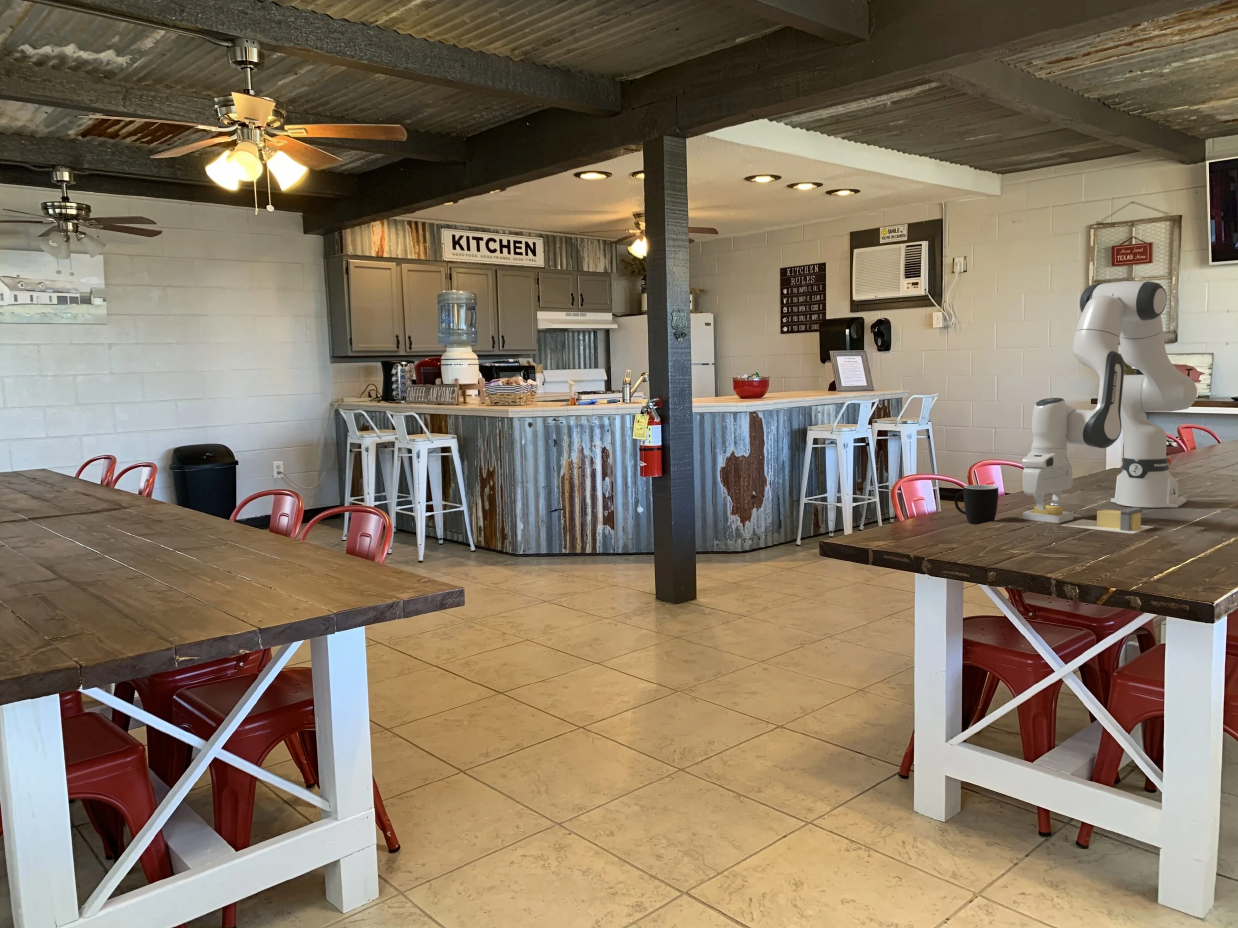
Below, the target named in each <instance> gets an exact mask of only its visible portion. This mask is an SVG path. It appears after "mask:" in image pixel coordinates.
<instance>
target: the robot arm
mask: <svg viewBox="0 0 1238 928" xmlns="http://www.w3.org/2000/svg"><path fill="white" fill-rule="evenodd" d="M1167 298H1168V296H1167V291H1166V289H1165V288H1164V286H1163V285H1162V284H1161V283H1159V282H1154V281H1149V280H1147V281H1146V280H1145V282H1144V281H1137V280H1123V281H1115V282H1114V281H1113V282H1106V283H1102V282H1099V283H1094V284H1090V285H1088V286H1087V287H1086V288H1085V289H1084V290H1083V291H1082V294H1081V295H1080V298H1079V309H1080V312H1081V314H1080V317H1079V320H1078V323H1077V325H1076V329H1075V333H1074V336H1073V341H1072V347H1071V348H1072V350H1071V351H1072V354H1073V356H1074V358H1075V359H1076V360H1077V361H1078V362H1079V363H1080V364H1081V365H1083V366H1084V367H1088V368H1089V369H1091V370H1094V371H1095V372H1096V373H1097V374H1098V377H1099V384H1098V394H1097V395H1098V396H1097V405H1096V406H1095V408H1094V409H1079V408H1076V407H1073V406H1071V405H1069V404H1068V403H1066V400H1065V399H1064V398H1061V397H1050V398H1043V399H1040V400H1038V401H1037V402H1035V404H1034V405H1033V408H1032V415H1031V434H1032V443H1031V447H1030V448H1031V450H1030V452H1029V453H1028V454H1027V455H1026V456H1025V457H1023V458H1022V460H1021V466H1022V467H1024V468H1023V469H1022V470H1023V471H1022V491H1023V493H1024V495H1025V496H1031V497H1033V496H1034V501H1035V503H1036V506H1037V510H1045V509H1046V505H1047V503H1045V500H1044V499H1045V494H1052V497H1051V498H1052V499H1051V500H1050V506H1060V500H1061V497H1062V496H1063V491H1064V490H1068V489H1071V488H1072V487H1073V468H1072V465H1071V463H1070V460H1069V458H1068V445H1075V446H1079V445H1080V446H1088V447H1092V448H1098V449H1107V448H1109V447H1111V446H1112V445H1113V444H1115V443H1116V442H1117V440H1119V438H1120V435H1121V433H1122V437H1123V438H1122V439H1123V457H1122V458H1121V470H1122V471H1121V472H1120V473H1119V474H1118V475H1117V476H1116V485H1115V493H1114V497H1111V498H1110V502H1111V503H1114V504H1117V505H1119V506H1126V507H1131V508H1132V507H1135V508H1150V509H1151V508H1180V507H1181V506H1182V505H1184V504H1185V503H1186V502H1188V501H1187V500H1188V499H1187V498H1186V497H1181V496H1179V484H1178V483H1179V482H1178V481H1177V480H1176V479H1175V478H1174V477H1173V475H1172V474H1171V473H1170V471H1169V469H1170V466H1171V465H1172V462H1173V461H1172V457H1167V443H1168V442H1167V441H1168V440H1167V439H1168V438H1167V433H1166V431H1165V430H1164V429H1163V428H1162V427H1161V426H1159V425H1158V424H1155V423H1153V422H1151V421H1149V420H1148V419H1147V417H1146V412H1151V413H1152V412H1154V413H1155V412H1161V413H1163V412H1167V413H1171V412H1177V411H1184V410H1188V409H1189V408H1191V407H1192V406H1193V404H1194V403H1195V402H1196V400H1197V396H1198V387H1197V384H1196V383H1195V381H1194V380H1193V379H1192V378H1191V377H1190V376H1188V375H1186V374H1184V373H1183V372H1182V371H1180V370H1179V369H1178V368H1177V367H1176V366H1175V365H1174V364H1173V363H1172V362H1171V360H1170V359H1169V356H1168V354H1167V349H1166V345H1165V338H1164V327H1163V320H1162V314H1163V313H1164V311H1165V309H1166V306H1167V300H1168V299H1167ZM1119 345H1120V353H1119ZM1125 364H1126V365H1128V366H1130V367H1132V368H1134V369H1137V370H1139V371H1140V373H1142V374H1125Z"/></svg>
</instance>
